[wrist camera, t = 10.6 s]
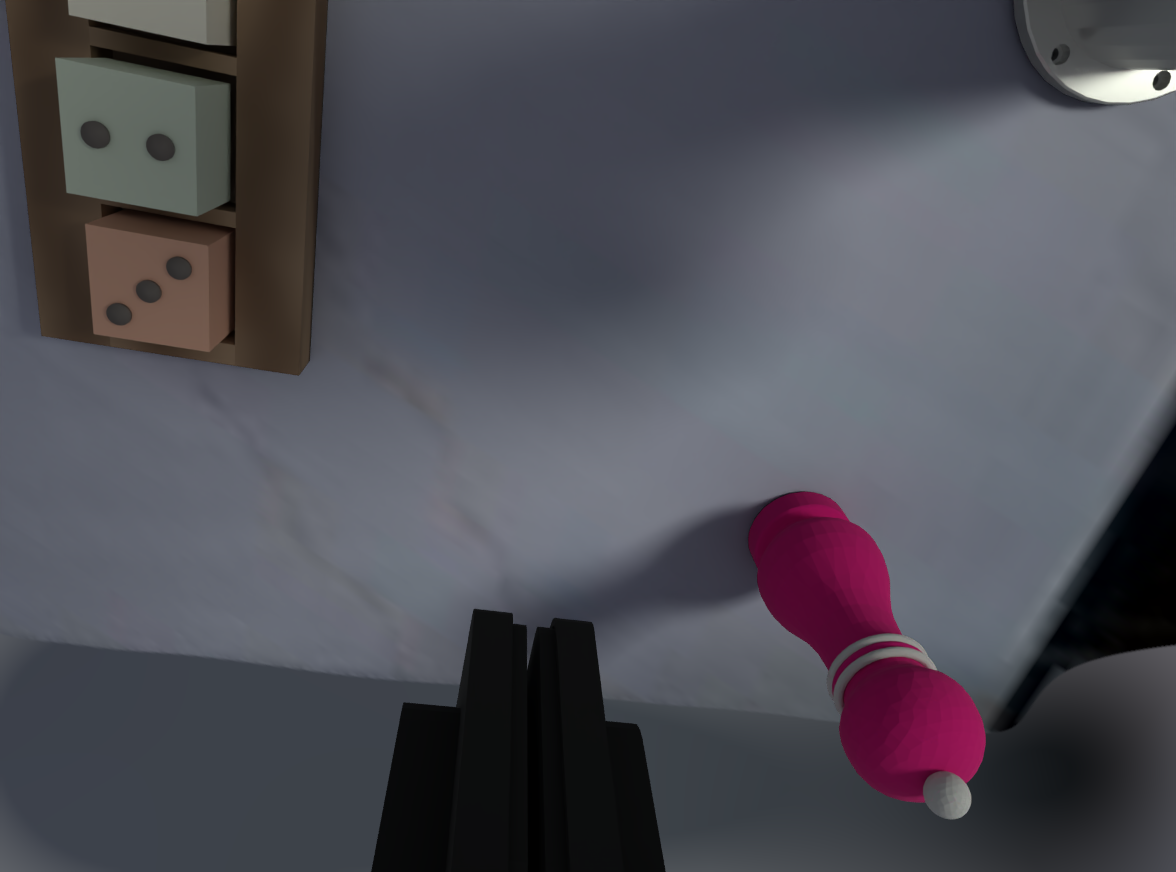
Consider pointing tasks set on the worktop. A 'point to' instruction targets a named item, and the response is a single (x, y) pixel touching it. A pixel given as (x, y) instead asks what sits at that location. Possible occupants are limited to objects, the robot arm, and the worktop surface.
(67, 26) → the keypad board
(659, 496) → the worktop surface
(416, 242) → the worktop surface
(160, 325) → the three-pip tile
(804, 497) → the pepper mill
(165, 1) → the one-pip tile
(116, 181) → the two-pip tile
